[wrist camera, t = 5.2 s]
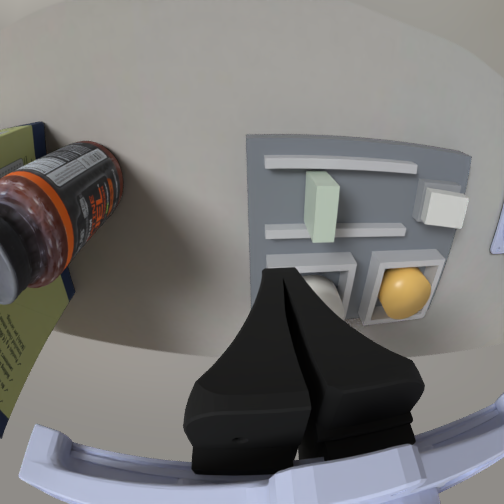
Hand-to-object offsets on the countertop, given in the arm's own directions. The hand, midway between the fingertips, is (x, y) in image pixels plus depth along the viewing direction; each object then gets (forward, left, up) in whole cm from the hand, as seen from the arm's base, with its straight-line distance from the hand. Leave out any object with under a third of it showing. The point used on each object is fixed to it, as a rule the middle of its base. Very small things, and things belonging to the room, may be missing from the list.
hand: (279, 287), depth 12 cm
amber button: (-10, +6, -7) cm, 14 cm away
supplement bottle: (+12, -3, -9) cm, 15 cm away
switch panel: (-7, +2, -9) cm, 11 cm away
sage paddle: (-3, -1, -7) cm, 8 cm away
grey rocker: (-12, -1, -6) cm, 13 cm away
